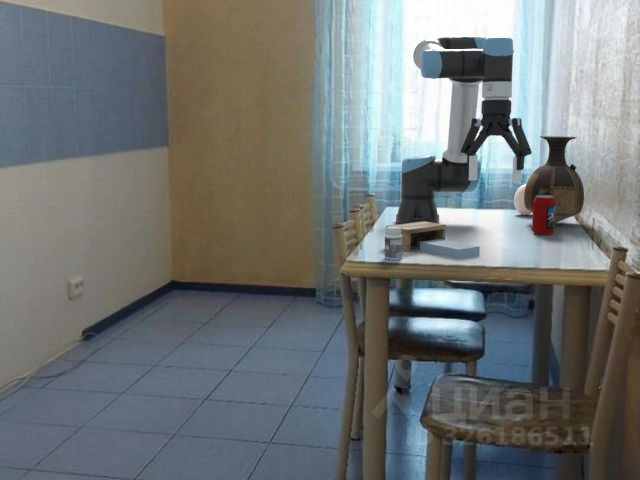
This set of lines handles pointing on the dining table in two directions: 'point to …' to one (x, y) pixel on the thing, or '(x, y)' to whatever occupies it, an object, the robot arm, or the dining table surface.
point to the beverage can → (543, 215)
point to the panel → (450, 248)
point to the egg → (521, 201)
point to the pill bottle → (393, 243)
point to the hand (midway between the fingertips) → (494, 181)
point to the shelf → (420, 233)
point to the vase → (556, 181)
